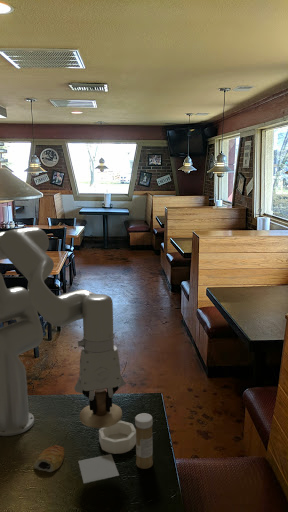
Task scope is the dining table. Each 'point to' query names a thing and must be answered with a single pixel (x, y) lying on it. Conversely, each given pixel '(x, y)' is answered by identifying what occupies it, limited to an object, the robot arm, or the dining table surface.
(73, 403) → the dining table surface
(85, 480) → the mat
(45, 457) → the pastry
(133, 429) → the bowl
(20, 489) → the dining table surface
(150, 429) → the sprinkles bottle
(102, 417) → the lid
